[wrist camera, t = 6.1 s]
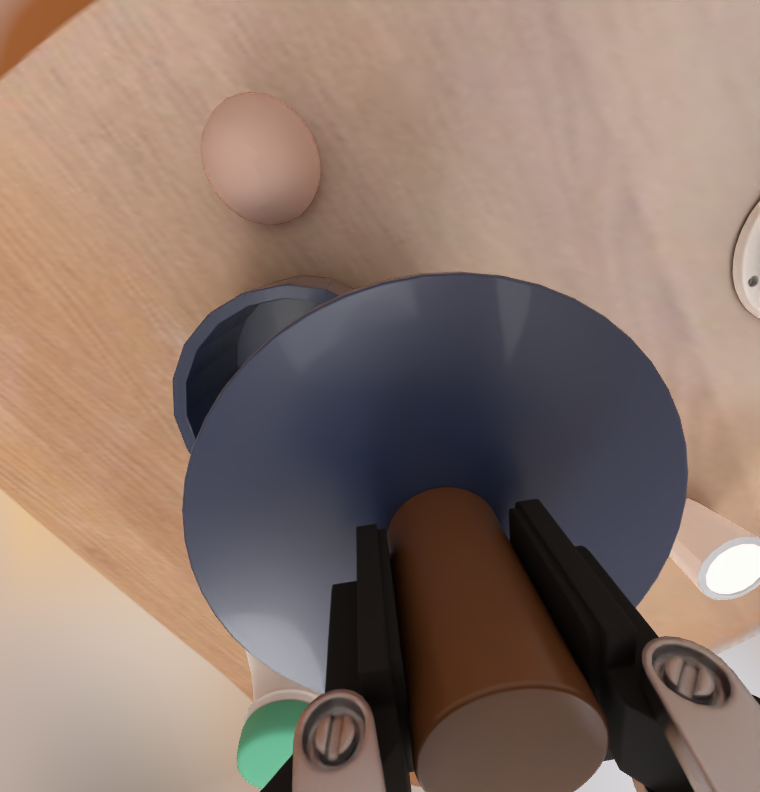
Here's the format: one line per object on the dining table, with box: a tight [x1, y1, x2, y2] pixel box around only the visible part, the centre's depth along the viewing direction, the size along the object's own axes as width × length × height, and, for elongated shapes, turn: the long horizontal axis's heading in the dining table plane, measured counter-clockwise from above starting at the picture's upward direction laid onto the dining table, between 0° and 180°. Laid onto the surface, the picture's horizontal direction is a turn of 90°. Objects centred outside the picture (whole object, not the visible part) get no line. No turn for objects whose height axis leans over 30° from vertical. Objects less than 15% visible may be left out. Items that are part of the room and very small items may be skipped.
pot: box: [173, 276, 355, 454], centre depth 28 cm, size 13×13×12 cm
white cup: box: [669, 498, 760, 600], centre depth 39 cm, size 7×7×7 cm
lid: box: [182, 272, 688, 792], centre depth 10 cm, size 14×14×7 cm
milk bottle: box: [237, 650, 321, 789], centre depth 29 cm, size 8×8×20 cm
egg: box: [201, 92, 320, 225], centre depth 25 cm, size 7×7×10 cm
